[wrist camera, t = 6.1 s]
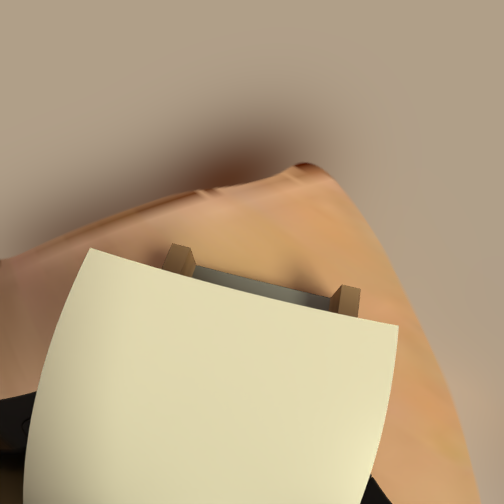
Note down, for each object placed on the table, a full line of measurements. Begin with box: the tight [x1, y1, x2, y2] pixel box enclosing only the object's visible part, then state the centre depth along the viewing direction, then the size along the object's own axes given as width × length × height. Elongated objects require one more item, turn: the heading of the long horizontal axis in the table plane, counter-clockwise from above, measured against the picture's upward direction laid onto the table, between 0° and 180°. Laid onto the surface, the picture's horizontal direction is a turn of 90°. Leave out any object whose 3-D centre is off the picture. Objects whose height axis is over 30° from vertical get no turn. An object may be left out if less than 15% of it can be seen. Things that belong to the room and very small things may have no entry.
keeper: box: [23, 248, 399, 504], centre depth 7 cm, size 5×4×11 cm
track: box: [162, 243, 361, 318], centre depth 9 cm, size 20×10×5 cm, turn 166°
